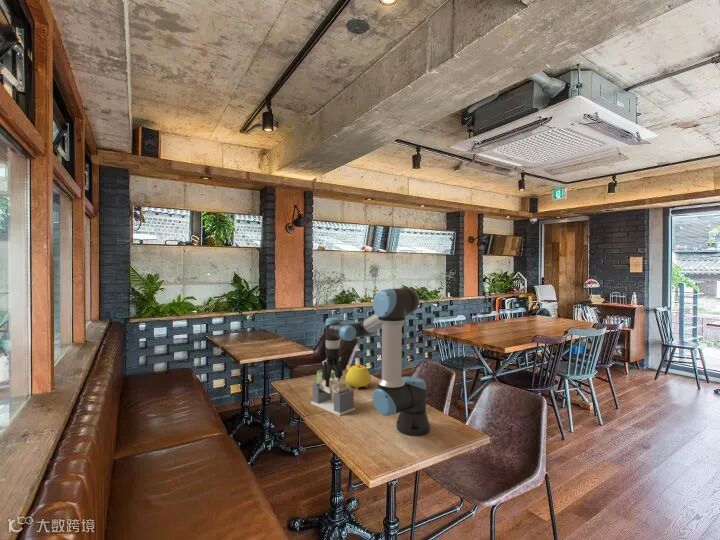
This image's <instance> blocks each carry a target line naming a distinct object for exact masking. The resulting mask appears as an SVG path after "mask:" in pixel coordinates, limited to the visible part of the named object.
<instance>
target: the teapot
mask: <svg viewBox="0 0 720 540" xmlns="http://www.w3.org/2000/svg"><path fill="white" fill-rule="evenodd" d="M346 369H347V373H346V376H345V382H346V385H348V387H350V388H351V387H353V388H354V390H356V391H357V390H360V388H361V387H362V388H365V389H366V388H369V384H370V383H371V382H372V378H371V374H370V371H369V370H368V368H367V367H366V366H365V365H361V363H355V365H351V364H348V365H346Z"/></svg>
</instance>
